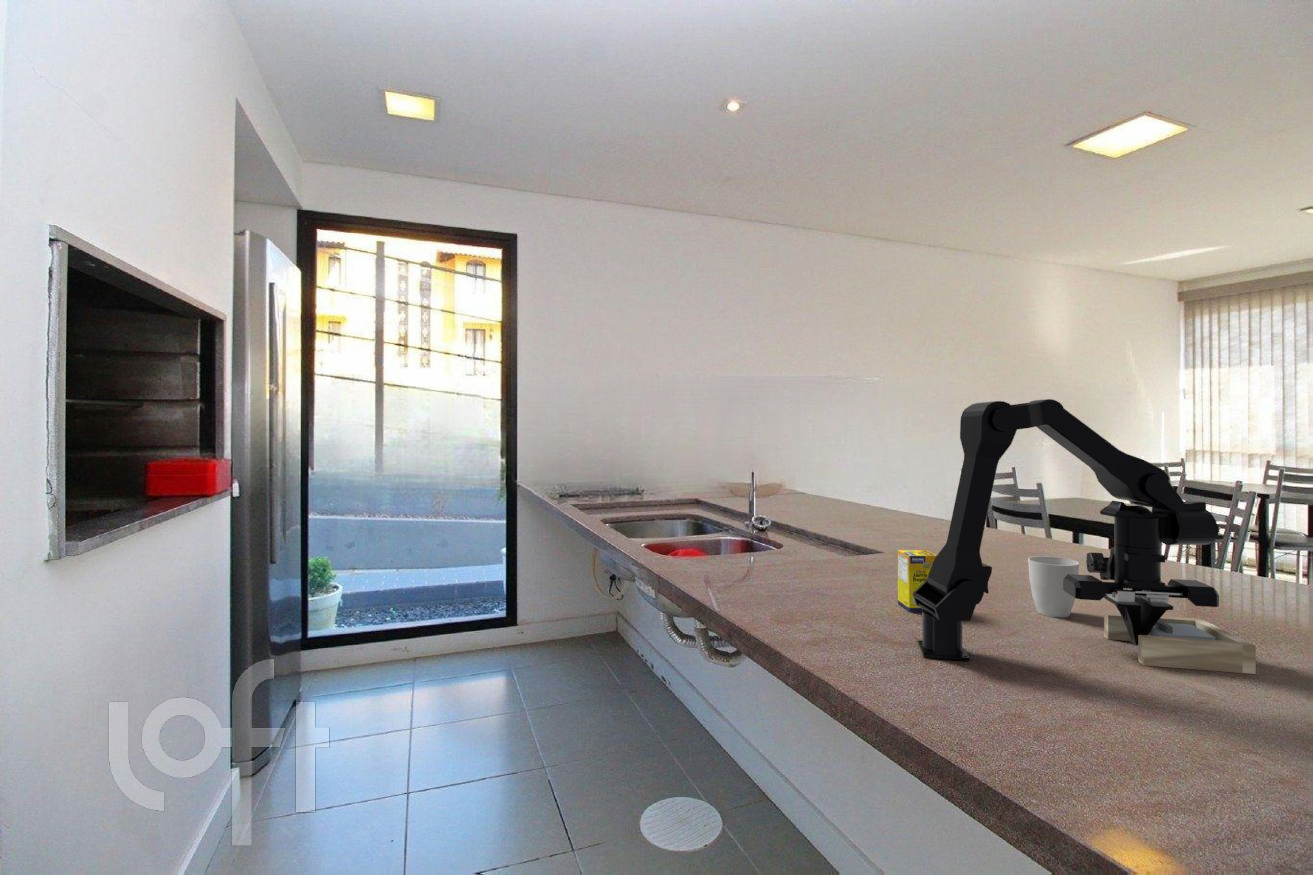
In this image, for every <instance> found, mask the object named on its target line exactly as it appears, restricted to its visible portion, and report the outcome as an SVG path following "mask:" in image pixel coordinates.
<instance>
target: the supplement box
mask: <svg viewBox="0 0 1313 875" xmlns="http://www.w3.org/2000/svg"><path fill="white" fill-rule="evenodd" d="M937 555H938V554H935V553H933V552H931V551H929V550H928V549H898V550H897V604H898V605H900V606H901V607H903V609H905V610H906V611H908V612H909V613H910V612H911V613H916V612H917V613H922V611H923V610H924V609H922V608H921V607H919V606H917V605H916V603H915V600H914V598H913V593H914V592H915V591H916V590H917V589H918V588H919V587H920V586H921V585H922V584H923V583H924V582H925V581H926V580H927V579H928V575H929V572H930V570H931V567H932V564H933V562H934V559H935V557H936V556H937Z"/></svg>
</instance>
